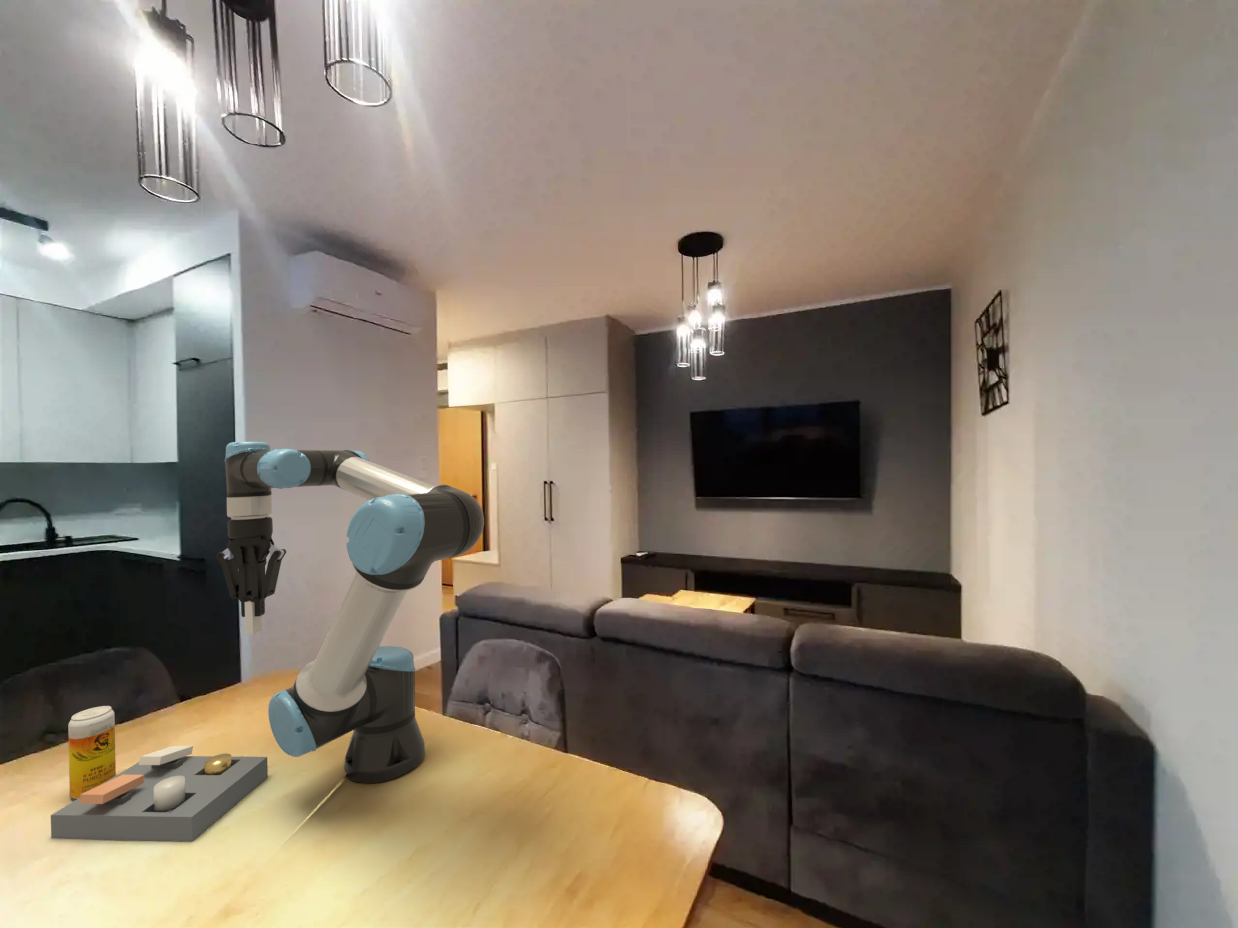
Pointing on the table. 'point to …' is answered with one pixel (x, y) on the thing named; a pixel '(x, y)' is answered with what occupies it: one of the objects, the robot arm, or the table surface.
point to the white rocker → (165, 755)
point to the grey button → (169, 793)
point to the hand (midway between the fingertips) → (253, 631)
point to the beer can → (91, 749)
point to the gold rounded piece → (217, 764)
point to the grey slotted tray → (184, 822)
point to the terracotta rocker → (111, 789)
